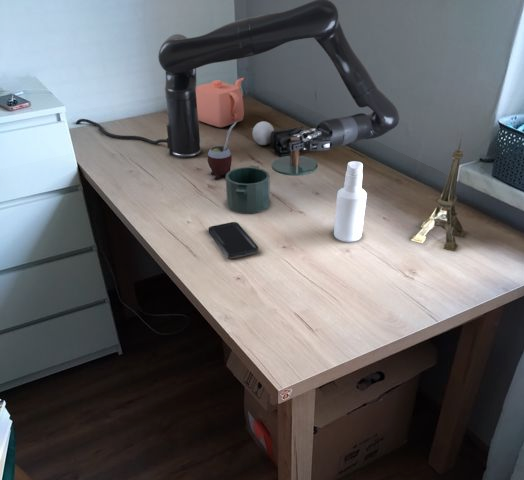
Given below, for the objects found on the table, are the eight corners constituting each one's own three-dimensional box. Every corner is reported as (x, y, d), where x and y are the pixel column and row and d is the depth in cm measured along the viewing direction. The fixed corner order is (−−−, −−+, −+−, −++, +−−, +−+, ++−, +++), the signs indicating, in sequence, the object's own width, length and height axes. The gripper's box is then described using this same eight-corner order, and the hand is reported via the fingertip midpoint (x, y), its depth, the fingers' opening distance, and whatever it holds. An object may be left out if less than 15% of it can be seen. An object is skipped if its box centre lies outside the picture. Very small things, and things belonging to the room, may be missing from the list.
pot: (219, 216, 143) (218, 187, 138) (235, 189, 156) (234, 161, 150) (262, 220, 141) (262, 190, 136) (274, 192, 154) (275, 164, 149)
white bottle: (363, 231, 137) (373, 160, 125) (358, 244, 132) (367, 171, 120) (337, 227, 138) (343, 156, 127) (330, 239, 134) (336, 167, 122)
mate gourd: (204, 178, 162) (200, 126, 152) (217, 168, 167) (214, 117, 157) (226, 182, 159) (224, 130, 149) (239, 172, 165) (237, 121, 155)
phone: (236, 221, 138) (259, 248, 128) (236, 225, 139) (259, 252, 129) (206, 227, 136) (228, 255, 126) (207, 231, 137) (228, 260, 126)
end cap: (297, 145, 182) (298, 124, 177) (307, 152, 177) (308, 131, 172) (269, 149, 179) (270, 128, 174) (278, 157, 174) (278, 135, 169)
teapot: (263, 119, 202) (263, 78, 193) (225, 132, 191) (223, 90, 182) (226, 107, 212) (224, 68, 203) (187, 119, 201) (184, 79, 192)
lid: (267, 176, 147) (267, 145, 142) (276, 158, 156) (276, 128, 151) (314, 179, 145) (315, 148, 139) (320, 161, 154) (322, 131, 149)
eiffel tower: (454, 251, 129) (482, 145, 113) (411, 240, 133) (431, 136, 117) (465, 232, 136) (492, 129, 120) (424, 222, 140) (444, 121, 124)
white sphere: (279, 145, 181) (279, 122, 177) (260, 150, 178) (260, 127, 173) (262, 136, 188) (262, 114, 183) (244, 141, 185) (243, 118, 180)
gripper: (322, 111, 154) (271, 123, 147) (355, 125, 145) (302, 138, 138) (321, 138, 159) (271, 151, 152) (352, 153, 150) (301, 167, 143)
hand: (286, 145), depth 145 cm, fingers closed on lid, 2 cm apart
